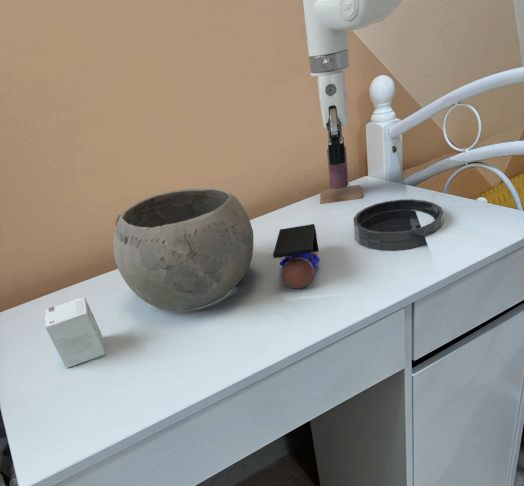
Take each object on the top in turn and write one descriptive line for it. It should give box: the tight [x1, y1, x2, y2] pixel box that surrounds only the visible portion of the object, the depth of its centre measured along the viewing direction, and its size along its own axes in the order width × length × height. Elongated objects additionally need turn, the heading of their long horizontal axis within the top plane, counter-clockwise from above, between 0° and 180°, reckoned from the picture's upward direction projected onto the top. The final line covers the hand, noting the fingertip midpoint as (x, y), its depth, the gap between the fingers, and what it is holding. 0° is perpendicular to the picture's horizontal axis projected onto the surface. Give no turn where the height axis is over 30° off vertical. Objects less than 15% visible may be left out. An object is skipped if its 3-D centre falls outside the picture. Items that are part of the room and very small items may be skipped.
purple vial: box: [326, 136, 350, 189], centre depth 106 cm, size 4×4×11 cm
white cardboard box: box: [44, 296, 106, 369], centre depth 73 cm, size 6×6×7 cm
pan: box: [353, 198, 445, 251], centre depth 88 cm, size 15×15×4 cm
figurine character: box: [272, 223, 320, 290], centre depth 82 cm, size 7×8×15 cm
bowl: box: [112, 187, 255, 311], centre depth 82 cm, size 23×23×15 cm
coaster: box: [319, 184, 363, 205], centre depth 110 cm, size 9×9×1 cm
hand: (337, 159), depth 106 cm, fingers closed on purple vial, 4 cm apart
